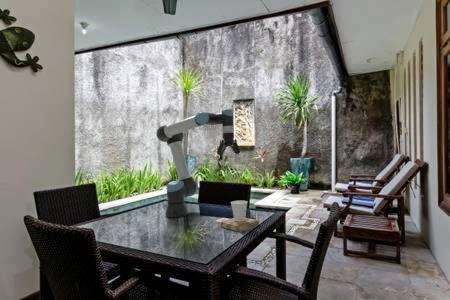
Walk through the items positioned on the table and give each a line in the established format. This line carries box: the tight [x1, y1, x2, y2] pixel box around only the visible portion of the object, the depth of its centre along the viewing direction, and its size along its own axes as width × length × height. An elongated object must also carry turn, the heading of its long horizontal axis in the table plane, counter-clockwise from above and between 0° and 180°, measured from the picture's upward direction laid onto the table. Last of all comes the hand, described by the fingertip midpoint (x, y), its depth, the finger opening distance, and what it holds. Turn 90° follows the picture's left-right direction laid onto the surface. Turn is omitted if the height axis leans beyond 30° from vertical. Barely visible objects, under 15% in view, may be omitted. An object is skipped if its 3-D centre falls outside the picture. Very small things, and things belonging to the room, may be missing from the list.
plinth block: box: [220, 217, 260, 233], centre depth 176 cm, size 16×16×3 cm
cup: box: [230, 200, 249, 222], centre depth 176 cm, size 10×10×11 cm
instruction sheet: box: [214, 217, 230, 223], centre depth 189 cm, size 12×9×1 cm
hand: (229, 164), depth 202 cm, fingers open, 13 cm apart
